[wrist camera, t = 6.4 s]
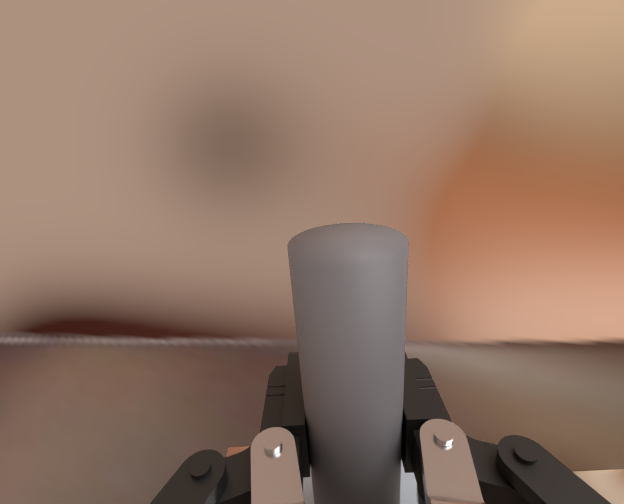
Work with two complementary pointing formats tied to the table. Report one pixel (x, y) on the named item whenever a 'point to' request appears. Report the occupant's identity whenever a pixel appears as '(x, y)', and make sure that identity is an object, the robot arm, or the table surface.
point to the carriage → (352, 361)
